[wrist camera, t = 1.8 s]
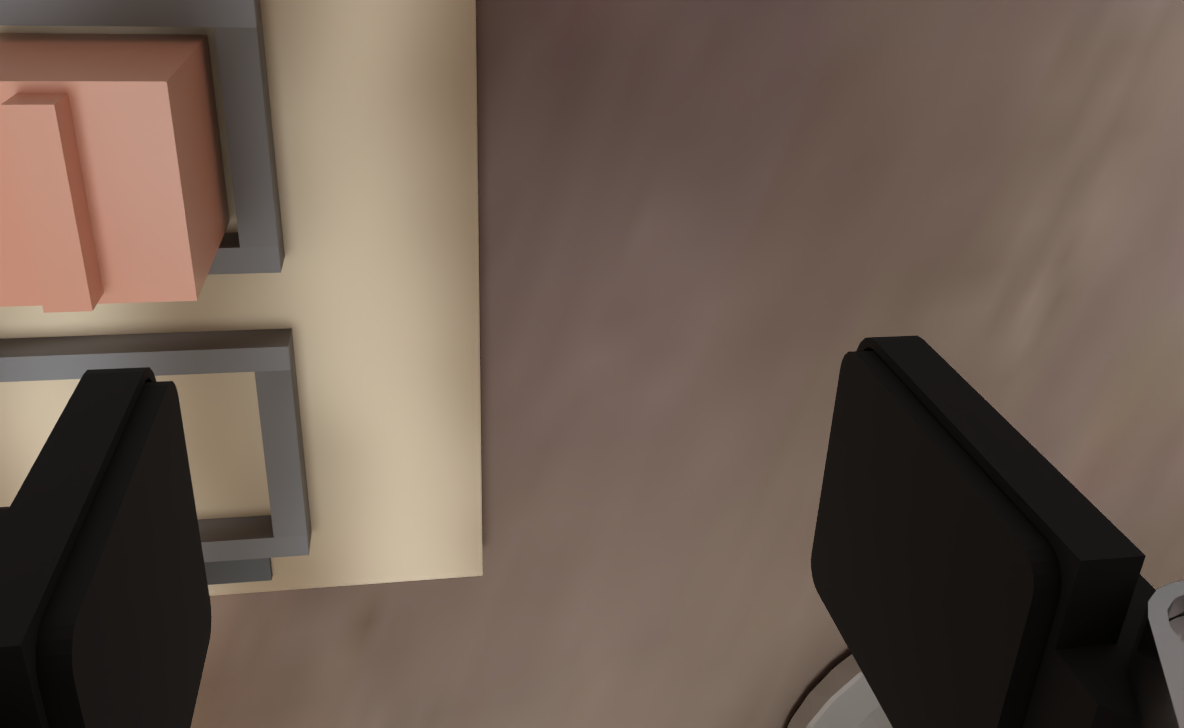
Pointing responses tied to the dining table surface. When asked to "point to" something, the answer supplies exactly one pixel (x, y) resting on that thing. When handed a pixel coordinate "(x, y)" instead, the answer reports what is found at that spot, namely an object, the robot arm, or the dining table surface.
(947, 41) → the dining table surface
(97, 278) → the pink block
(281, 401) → the switch board
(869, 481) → the robot arm
